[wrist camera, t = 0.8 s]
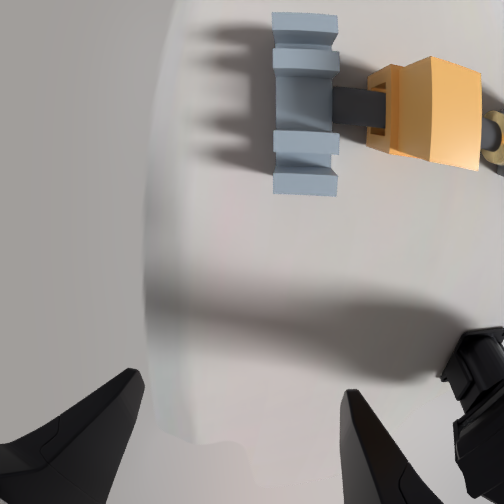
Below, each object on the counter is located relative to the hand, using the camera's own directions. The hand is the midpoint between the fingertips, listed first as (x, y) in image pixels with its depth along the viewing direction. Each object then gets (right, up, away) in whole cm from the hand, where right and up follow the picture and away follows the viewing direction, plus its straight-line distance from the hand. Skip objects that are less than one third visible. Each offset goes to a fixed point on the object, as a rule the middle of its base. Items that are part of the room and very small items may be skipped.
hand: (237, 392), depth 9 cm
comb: (+3, +13, +7) cm, 15 cm away
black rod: (+12, +12, +4) cm, 18 cm away
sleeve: (+9, +13, +6) cm, 17 cm away
